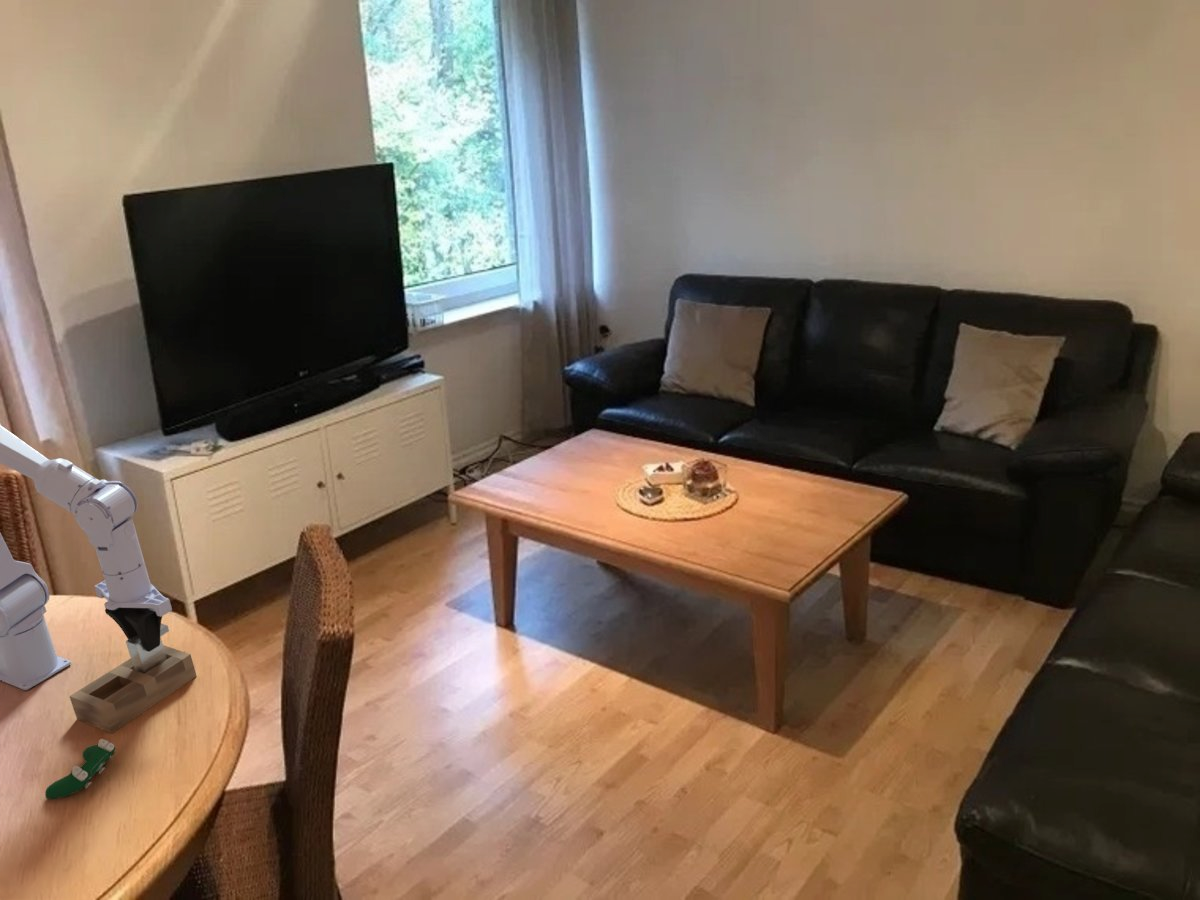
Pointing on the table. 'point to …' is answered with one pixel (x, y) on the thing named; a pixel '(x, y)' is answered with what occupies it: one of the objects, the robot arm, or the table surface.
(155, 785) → the table surface
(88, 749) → the green elongated piece
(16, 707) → the table surface
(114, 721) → the tan divided tray
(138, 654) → the white rectangular pillar
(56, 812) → the table surface
